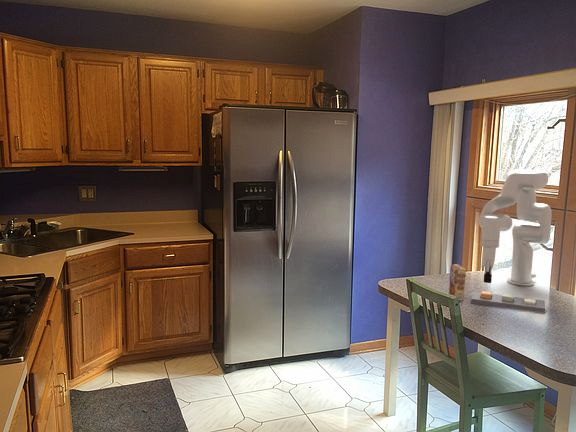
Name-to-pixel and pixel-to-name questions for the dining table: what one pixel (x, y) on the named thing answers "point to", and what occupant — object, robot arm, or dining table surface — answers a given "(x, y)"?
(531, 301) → the cream button
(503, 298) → the sage button
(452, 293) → the candy box
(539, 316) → the dining table surface
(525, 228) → the robot arm
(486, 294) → the orange button
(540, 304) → the button panel
